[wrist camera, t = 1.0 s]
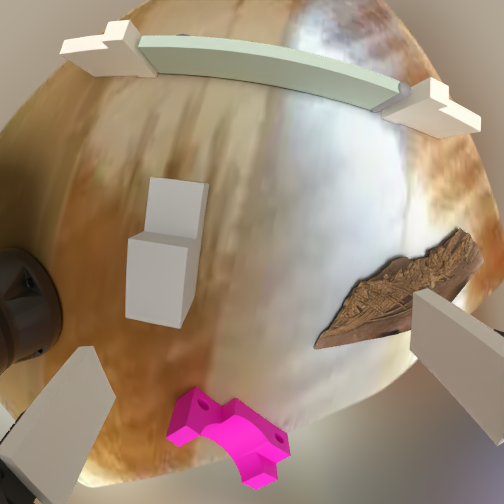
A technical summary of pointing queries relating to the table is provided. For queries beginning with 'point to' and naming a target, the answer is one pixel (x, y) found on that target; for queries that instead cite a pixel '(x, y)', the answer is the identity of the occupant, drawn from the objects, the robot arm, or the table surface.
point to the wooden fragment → (402, 292)
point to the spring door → (273, 68)
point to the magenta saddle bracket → (231, 434)
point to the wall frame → (136, 64)
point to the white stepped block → (166, 253)
